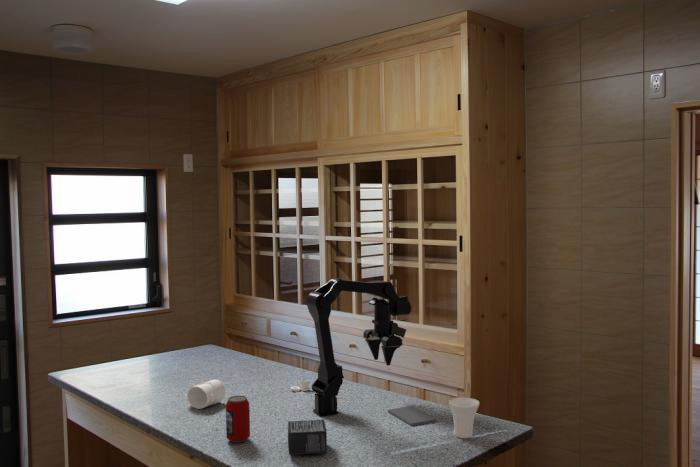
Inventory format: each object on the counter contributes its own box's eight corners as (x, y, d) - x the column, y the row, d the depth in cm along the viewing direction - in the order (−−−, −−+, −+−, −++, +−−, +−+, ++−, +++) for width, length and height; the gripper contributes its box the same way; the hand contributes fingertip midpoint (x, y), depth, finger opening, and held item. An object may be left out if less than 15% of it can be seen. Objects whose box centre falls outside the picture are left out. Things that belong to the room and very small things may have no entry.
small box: (324, 441, 184) (288, 442, 183) (324, 418, 184) (287, 420, 183) (326, 454, 174) (287, 456, 173) (326, 430, 174) (287, 431, 173)
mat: (411, 426, 195) (411, 423, 195) (387, 412, 209) (387, 409, 209) (436, 421, 199) (436, 419, 199) (411, 408, 213) (411, 405, 213)
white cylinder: (227, 404, 221) (226, 381, 221) (207, 411, 213) (207, 387, 213) (202, 399, 227) (201, 376, 227) (182, 406, 220) (181, 383, 219)
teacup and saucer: (288, 393, 233) (288, 382, 233) (298, 387, 241) (298, 376, 241) (310, 395, 230) (309, 384, 230) (319, 389, 237) (319, 378, 237)
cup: (460, 442, 181) (460, 407, 181) (443, 432, 190) (442, 398, 189) (486, 437, 185) (486, 403, 184) (468, 427, 193) (468, 394, 193)
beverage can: (227, 435, 190) (226, 395, 189) (250, 434, 190) (250, 394, 190) (225, 443, 183) (224, 402, 183) (249, 442, 184) (248, 401, 183)
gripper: (416, 320, 216) (416, 366, 216) (390, 312, 233) (390, 355, 233) (386, 322, 211) (386, 369, 212) (362, 314, 228) (362, 357, 229)
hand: (382, 362), depth 221 cm, fingers open, 9 cm apart
